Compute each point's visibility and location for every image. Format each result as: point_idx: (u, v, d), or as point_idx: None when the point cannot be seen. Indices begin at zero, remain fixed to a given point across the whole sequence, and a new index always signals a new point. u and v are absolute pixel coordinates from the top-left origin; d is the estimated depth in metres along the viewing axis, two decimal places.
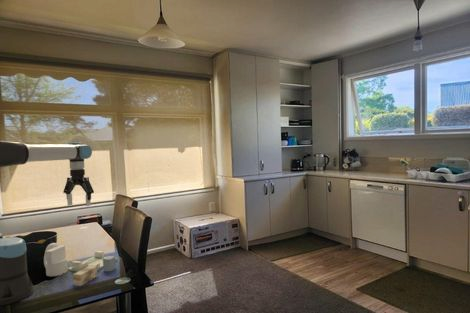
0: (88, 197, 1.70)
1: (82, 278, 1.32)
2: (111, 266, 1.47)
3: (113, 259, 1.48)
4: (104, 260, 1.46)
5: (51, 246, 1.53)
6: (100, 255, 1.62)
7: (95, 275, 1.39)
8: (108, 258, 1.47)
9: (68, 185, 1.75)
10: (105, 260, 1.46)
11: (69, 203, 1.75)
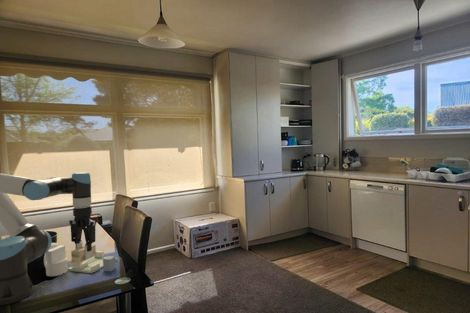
0: (88, 248, 1.34)
1: (80, 255, 1.32)
2: (111, 266, 1.47)
3: (113, 259, 1.48)
4: (104, 260, 1.46)
5: (51, 246, 1.53)
6: (100, 255, 1.62)
7: (93, 253, 1.39)
8: (108, 258, 1.47)
9: (74, 230, 1.37)
10: (105, 260, 1.46)
11: None
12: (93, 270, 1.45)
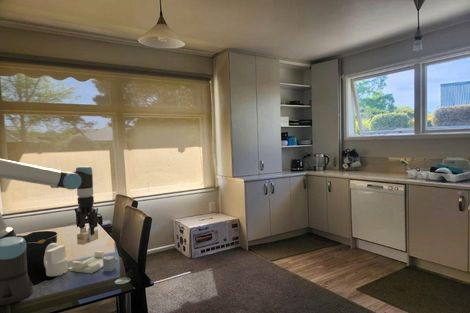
0: (91, 232, 1.54)
1: (85, 238, 1.52)
2: (111, 266, 1.47)
3: (113, 259, 1.48)
4: (104, 260, 1.46)
5: (51, 246, 1.53)
6: (100, 255, 1.62)
7: (96, 237, 1.59)
8: (108, 258, 1.47)
9: (79, 216, 1.57)
10: (105, 260, 1.46)
11: None
12: (93, 270, 1.45)
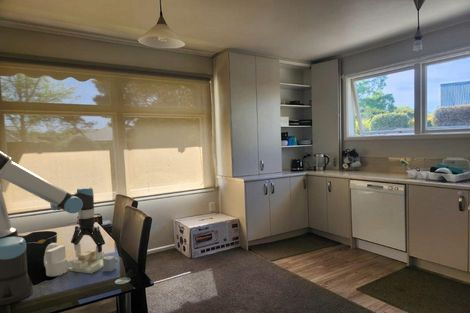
0: (99, 249, 1.53)
1: (86, 258, 1.52)
2: (111, 266, 1.47)
3: (113, 259, 1.48)
4: (104, 260, 1.46)
5: (51, 246, 1.53)
6: None
7: None
8: (108, 258, 1.47)
9: (76, 234, 1.58)
10: (105, 260, 1.46)
11: (77, 255, 1.58)
12: (93, 270, 1.45)
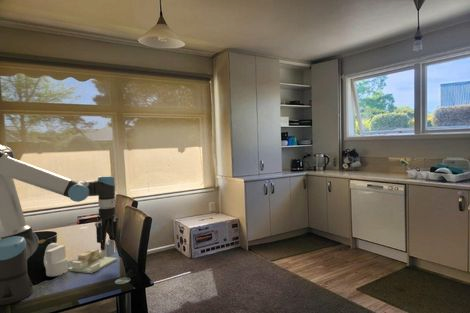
0: None
1: (86, 258, 1.52)
2: (110, 251, 1.46)
3: (112, 245, 1.47)
4: None
5: (51, 246, 1.53)
6: (100, 255, 1.62)
7: (97, 257, 1.60)
8: (107, 243, 1.46)
9: (113, 227, 1.52)
10: None
11: None
12: (93, 270, 1.45)
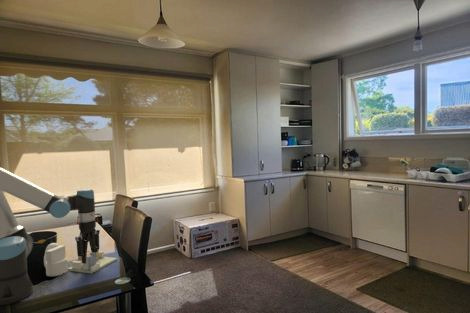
0: None
1: None
2: (91, 264, 1.47)
3: (93, 257, 1.48)
4: None
5: (51, 246, 1.53)
6: (100, 255, 1.62)
7: (97, 257, 1.60)
8: (88, 256, 1.47)
9: (95, 239, 1.52)
10: None
11: None
12: (93, 270, 1.45)
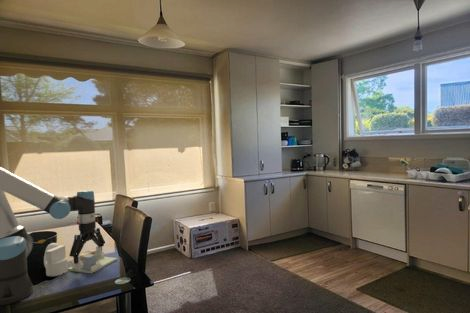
0: None
1: None
2: (91, 264, 1.47)
3: (93, 257, 1.48)
4: (84, 258, 1.46)
5: (51, 246, 1.53)
6: None
7: None
8: (88, 256, 1.47)
9: (98, 236, 1.54)
10: (85, 258, 1.46)
11: (97, 257, 1.54)
12: (93, 270, 1.45)
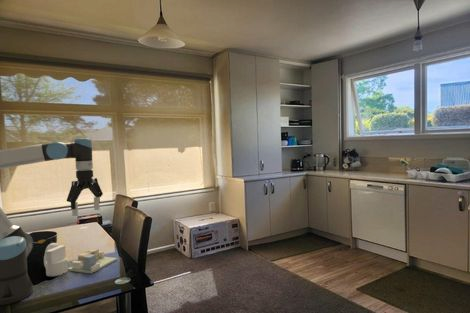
0: None
1: None
2: (91, 264, 1.47)
3: (93, 257, 1.48)
4: (84, 258, 1.46)
5: (51, 246, 1.53)
6: (100, 255, 1.62)
7: (97, 257, 1.60)
8: (88, 256, 1.47)
9: (95, 187, 1.54)
10: (85, 258, 1.46)
11: (95, 208, 1.54)
12: (93, 270, 1.45)
